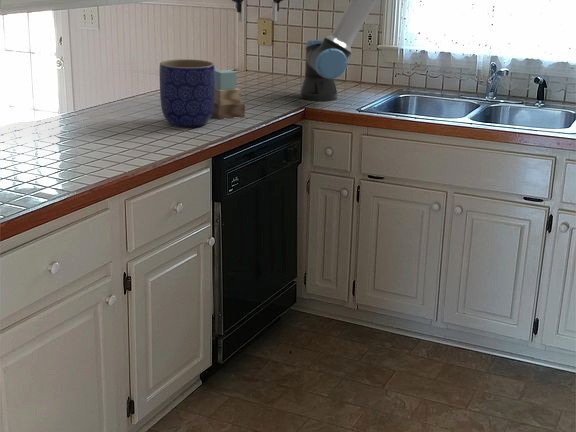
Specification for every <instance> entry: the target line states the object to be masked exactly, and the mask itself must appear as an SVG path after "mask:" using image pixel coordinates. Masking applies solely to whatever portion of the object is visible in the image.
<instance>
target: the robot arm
mask: <svg viewBox="0 0 576 432" xmlns="http://www.w3.org/2000/svg"><path fill="white" fill-rule="evenodd" d="M231 1H232V2H234V3H236V12H237V13H238V22H240V23H244V21H245V11H244V10H245V7H244V6H245V3H243V2H244V0H231ZM272 1H273V2H271V21H274V22H277V21H278V12H280V11H279V10H280V3H281V2H283V1H284V0H272ZM377 1H378V0H350V1H349V3H348V5H347V6H346V8H345V10H344V11H343V13H342V15H341V17H340V18H339V20H338V22H337V24H336V25H335V27H334V29H333V30H332V33H330V35H327V36H325V37H324V38H323V39H316V40H315V39H314V40H313V39H308V40H307V41H306V44H305V61H304V62H305V63H304V64H305V67H304V68H305V69H304V79H303V82H302V86H301V88H300V90H299V98H301V99H304V100H306V101H308V100H309V101H316V102H317V101H318V102H319V101H320V102H327V101H328V102H329V101H334V100H337V99H338V91H337V90H338V89H337V87H336V83H335V79H337V78H339V77H341V76H342V75H343V74H344V73H345V71H346V70H347V67H348V60H349V58H350V56H351V54H352V53H353V52H352V49H351V48H352V44H353V43H354V41H355V40H356V37H357V35H359V32H360V31H361V29H362V27H363V25H364V23H365V22H366V20H367V18H368V17H369V15H370V13H371V11H372V10H373V8H374V6H375V4H376V2H377Z"/></svg>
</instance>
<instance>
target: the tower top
mask: <svg viewBox="0 0 576 432" xmlns="http://www.w3.org/2000/svg"><path fill="white" fill-rule="evenodd" d="M241 93H242V90H241V89H240V88H237V87H236V89H231V90H219V89H217V88H215V97H214V103H216V104H218V105H230V104H241V103H242V102H241V96H242V95H241Z"/></svg>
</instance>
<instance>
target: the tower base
mask: <svg viewBox="0 0 576 432" xmlns="http://www.w3.org/2000/svg"><path fill="white" fill-rule="evenodd" d="M245 105H246V104H245V103H243V102H241V104H230V105H218V104H216V103H214V109H213V113H212V116H211V117H214V118H216V119H217V118H218V119H217V120H225V119H224V118H227V119H235V118H234V117H240V118H245V117H246V116H245V114H246V113H245V110H246V109H245V107H246V106H245Z"/></svg>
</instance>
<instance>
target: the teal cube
mask: <svg viewBox="0 0 576 432" xmlns="http://www.w3.org/2000/svg"><path fill="white" fill-rule="evenodd" d="M215 88H217V89H219V90H231V89H236V88H237V72H236V71H235V70H232V69H215Z"/></svg>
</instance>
